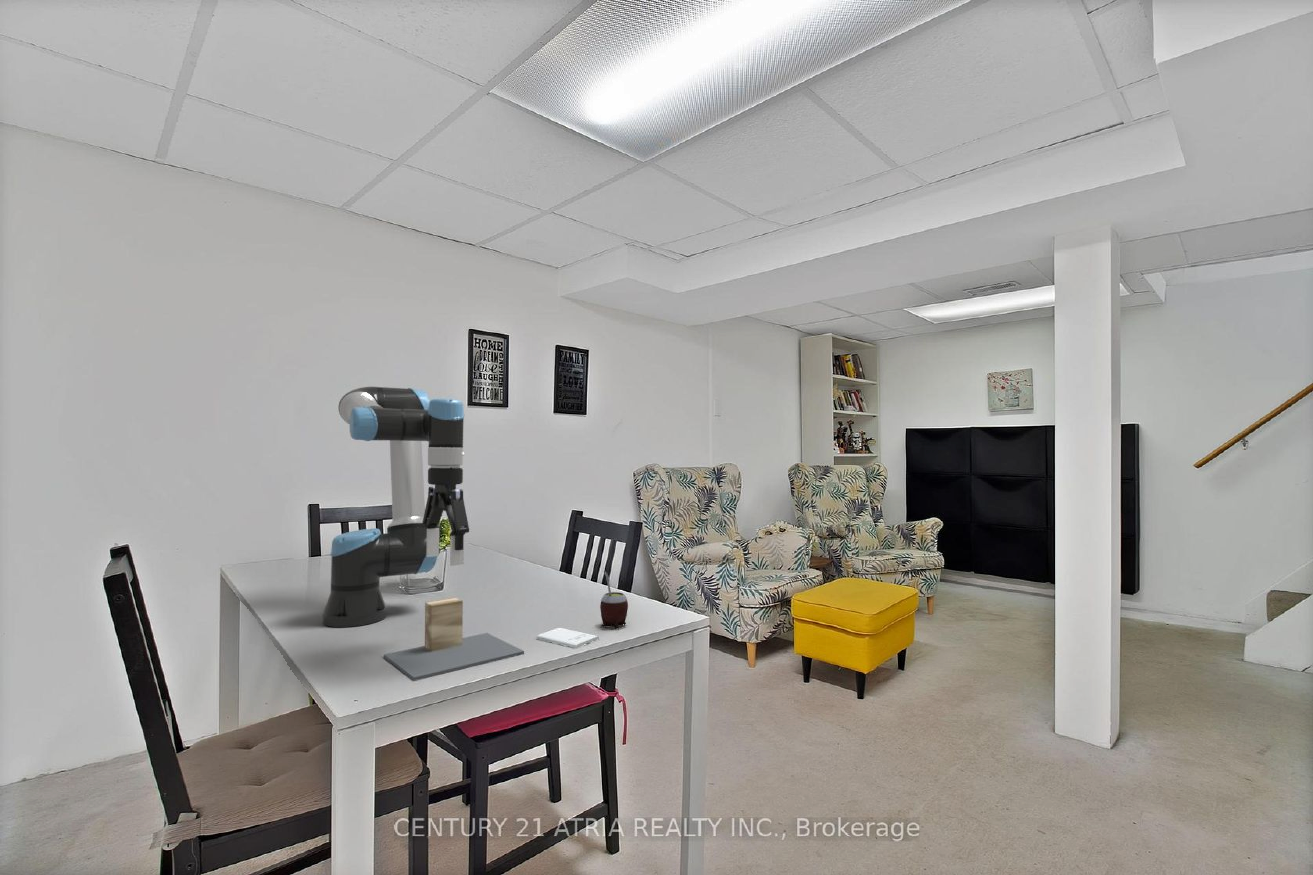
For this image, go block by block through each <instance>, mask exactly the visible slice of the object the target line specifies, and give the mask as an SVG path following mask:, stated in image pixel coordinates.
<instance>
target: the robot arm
mask: <svg viewBox="0 0 1313 875" xmlns="http://www.w3.org/2000/svg"><path fill="white" fill-rule="evenodd" d="M338 413H339V416H340V417H341V419H342V420H343V421H344V422H345V423H346V424H348V425H349V433H350V438H352V439H353V440H354V441H355V440H356V441H366V442H370V441H389V452H390V453H389V454H390V455H389V456H390V457H389V458H390V459H389V460H390V478H391V479H390V480H391V482H390V484H391V509H392V510H391V512H392V521H391V522H390V523H389V524H388V525H387V527H386V533H382V531H381V530H380V529H379V528H364V529H358V530H353V531H352V530H351V531H348V532H344V533H342V534H339V535H336V536H335V537H334V538H333V539H332V541H331V551H330V557H331V558H330V559H331V562H330V563H331V564H330V571H331V572H330V593H329V597H328V599H327V602H326V604H325V607H324V609H323V614H322V624H323V625H324V626H328V627H333V628H334V627H335V628H346V627H347V628H348V627H350V628H351V627H357V626H365V625H369V624H373V623H377V622H380V621H382V620H384V619H385V618H386V617H387V606H386V603H385V600H384V597H383V595H382V592H381V591H382V590H381V589H380V580H381V579H380V578H384V577H385V578H386V577H395V576H397V577H398V576H405V575H406V576H407V575H417V574H423V573H428V572H430V571H432V570H433V569H434V568H435V566H436V563H437V560H438V558H439V556H440V528H441V524H440V520H441V518H442V515H443V514H444V512H445V513H446V516H447V519H448V523H449V526H450V530H451V532H450V533H449V537H450V542H449V543H450V546H449V548H450V552H449V553H450V554H449V555H450V556H449V566H452V567H453V566H461V565H464V563H465V562H464V558H465V557H464V556H465V554H464V553H465V552H464V550H465V549H464V546H465V535H466V534H468V533H470V526H469V521H468V517H467V511H466V505H465V501H464V490H463V489H462V488H461V489H458V488H457V485H462V483H463V480H464V473H463V472H464V469H463V467H461V466H462V465H463V462H464V461H463V460H464V456H465V452H464V422H465V421H464V418H465V413H464V404H463V401H461V400H459V399H455V398H434V399H433V398H432V399H431V400H430V397H429V395H428V394H427V392H426V391H424V390H423V389H415V388H412V387H411V388H409V387H408V388H404V387H403V388H401V387H387V386H386V387H385V386H384V387H382V386H381V387H379V386H364V387H359V388H356V389H352V390H349V391H348V392H346V393H345V394H344V395H343V396H342V397H341V398H340V400H339V403H338ZM422 442H428V446H427V447H428V448H427V465H428V466H430V467H429V468H428V469H427V483H428V485H431V486H428V489H427V490H428V492H427V493H428V495H427V500H426V504H425V484H424V483H425V482H424V468H423V467H424V462H423V443H422ZM433 485H434V486H433Z"/></svg>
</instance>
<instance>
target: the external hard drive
mask: <svg viewBox="0 0 1313 875" xmlns="http://www.w3.org/2000/svg"><path fill="white" fill-rule="evenodd" d="M538 639H539V640H538ZM597 639H599V640H600V637H599V635H594V634H591V633H585V632H582V631H581V632H580V631H576V630H572V629H567V628H563V627H557V628H554V629H551V630H549V631H545V632H542V633H540V634H538V635H536V640H538V641H542V642H546V641H548V642H547V643H550V642H552V643H551V644H554V643H556V644H555V645H558V644H562V645H561V646H563V645H565V646H564V647H567V646H569V647H568V648H571V647H572V649H575V648H577V649H579V648H581V647H580V646H582V645H584V644H586V645H588V644H591V643H590V642H592V641H594V642H597V641H598V640H597ZM596 640H597V641H596ZM587 643H588V644H587ZM592 643H593V642H592ZM584 646H585V645H584ZM582 647H583V646H582Z"/></svg>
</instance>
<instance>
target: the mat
mask: <svg viewBox="0 0 1313 875" xmlns="http://www.w3.org/2000/svg"><path fill="white" fill-rule="evenodd" d="M524 654H525V650H524V649H521V648H519V647H517V646H515V645H512V644H511V643H509V642H506V641H505V640H502V639H501V638H499V637H496V636H494V635H493V634H490V633H488V632H485V633H480V634H475V635H469V636H466V637H462V645H460V646H455V647H451V648H446V649H442V650H437V651H432V652H431V651H430V650H428V649H427V648H425V645H422V646H418V647H417V646H416V647H414V648H408V649H404V650H398V651H393V652H389V653H384V654H383V658H384V659H385V660H387V662H389V663H390V664H391V665H393V666H395V668H397V669H398V670H399V671H401V672H402V673H404V675H406V676H407V677H409V678H410V679H411V680H413V681H418V680H423V679H427V678H430V677H436V676H439V675H443V674H447V673H451V672H455V671H460V670H463V669H467V668H471V667H476V666H479V665H483V664H488V663H491V662H492V663H493V662H496V661H499V660H504V659H508V658H512V657H516V656H520V655H524Z"/></svg>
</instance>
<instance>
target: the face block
mask: <svg viewBox="0 0 1313 875" xmlns="http://www.w3.org/2000/svg"><path fill="white" fill-rule="evenodd" d="M463 604H464V602H463V600H462V599H459V598H457V597H453V598H452V597H451V598H446V599H438V600H433V601H426V602H425V604H424V605H425V606H424V608H425V609H424V610H425V612H424V621H425V622H424V646H425V648H427V649H428V650H430V651H431V652H432V651H437V650H442V649H446V648H451V647H455V646H460V645H462V638H463V622H464V620H463V618H464V617H463V615H464V613H463V612H464V611H463V610H464V608H463V607H464V606H463Z"/></svg>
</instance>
